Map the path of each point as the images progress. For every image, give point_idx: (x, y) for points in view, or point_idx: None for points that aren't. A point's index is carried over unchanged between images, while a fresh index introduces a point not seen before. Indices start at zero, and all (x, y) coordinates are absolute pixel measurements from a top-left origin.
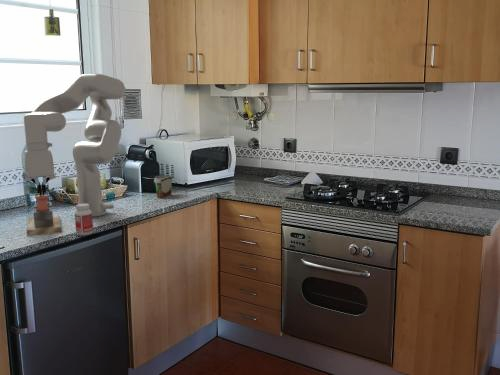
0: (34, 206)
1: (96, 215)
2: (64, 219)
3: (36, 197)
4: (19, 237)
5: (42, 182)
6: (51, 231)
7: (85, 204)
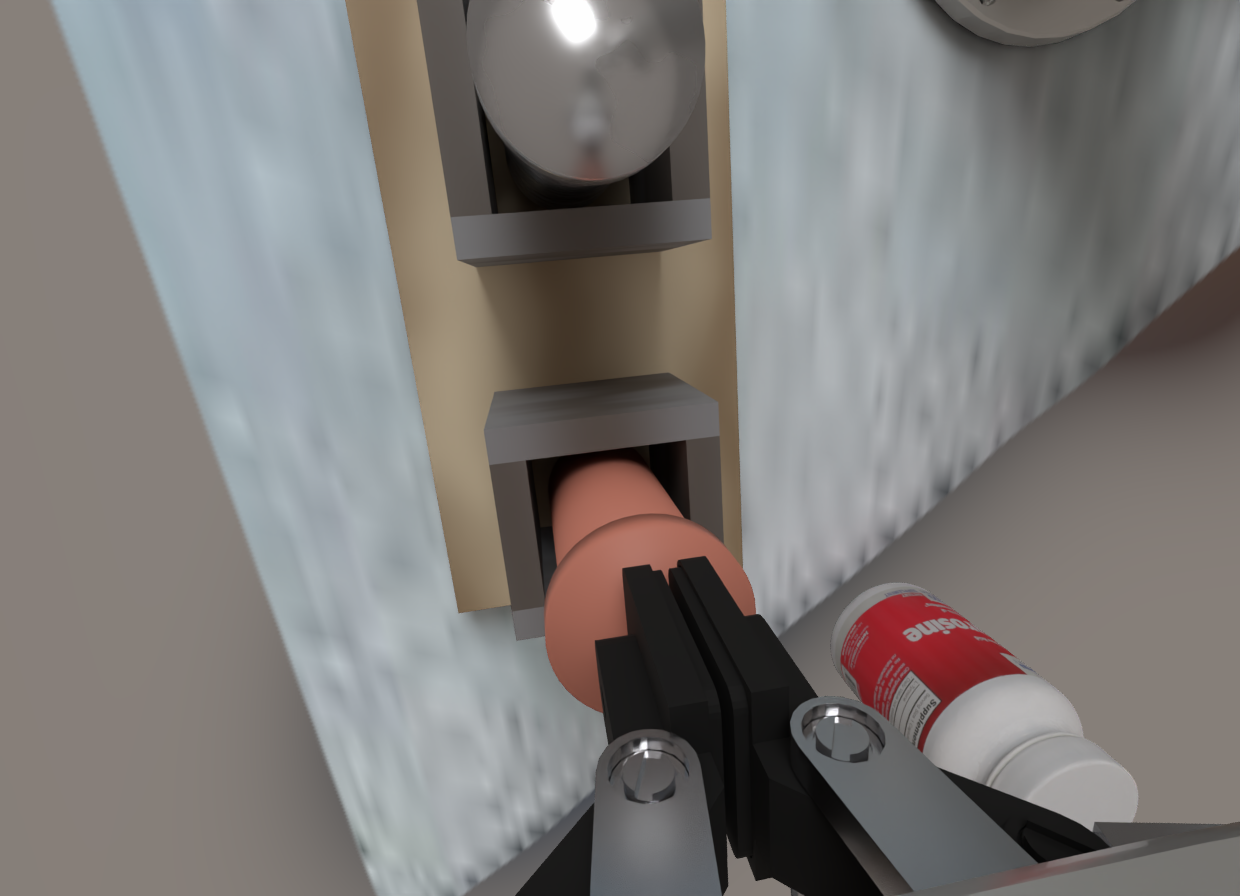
0: (461, 232)
1: (1076, 34)
2: (753, 13)
3: (570, 688)
4: (406, 626)
5: (799, 858)
6: None
7: (1105, 810)
